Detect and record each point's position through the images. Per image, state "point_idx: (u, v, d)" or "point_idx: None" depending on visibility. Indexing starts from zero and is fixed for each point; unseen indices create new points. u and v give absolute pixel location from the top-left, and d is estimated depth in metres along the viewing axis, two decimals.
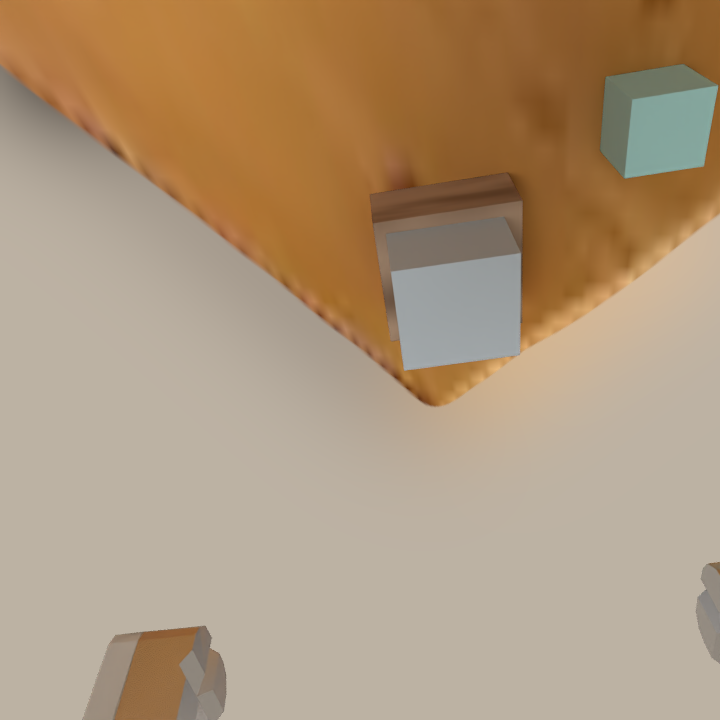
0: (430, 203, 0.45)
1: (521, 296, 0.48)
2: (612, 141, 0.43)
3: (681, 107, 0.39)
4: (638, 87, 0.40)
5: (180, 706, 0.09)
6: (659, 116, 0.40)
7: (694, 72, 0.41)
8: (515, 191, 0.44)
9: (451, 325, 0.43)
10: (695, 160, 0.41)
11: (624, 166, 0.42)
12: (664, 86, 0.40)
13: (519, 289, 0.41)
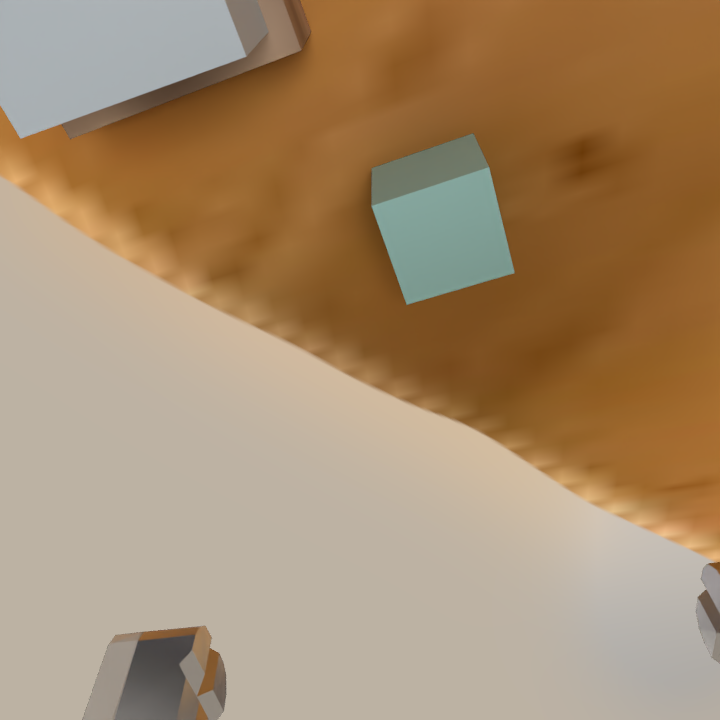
0: None
1: (121, 117, 0.26)
2: (403, 173, 0.29)
3: (482, 240, 0.28)
4: None
5: (180, 706, 0.09)
6: (468, 215, 0.27)
7: None
8: (303, 40, 0.25)
9: None
10: (413, 290, 0.29)
11: (388, 198, 0.27)
12: None
13: (167, 82, 0.20)
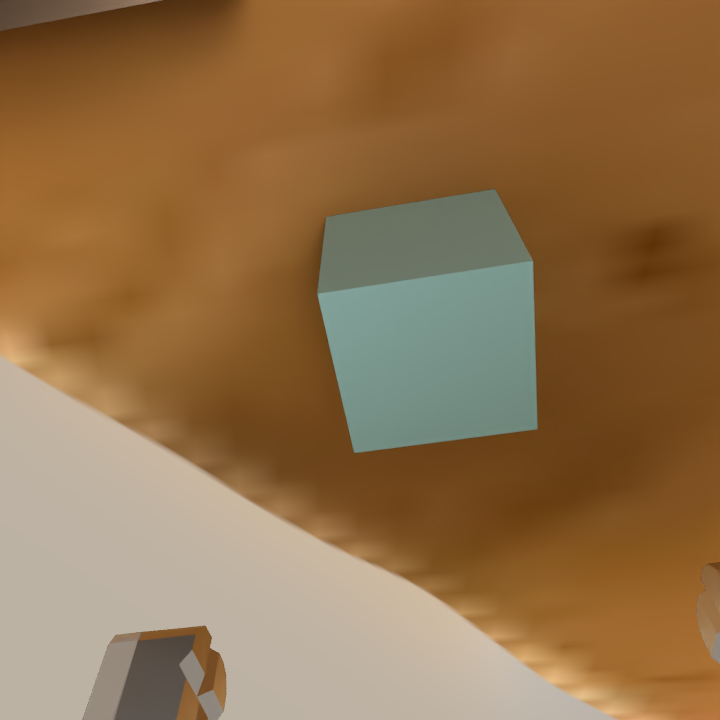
0: None
1: None
2: (378, 239, 0.17)
3: (496, 374, 0.16)
4: None
5: (180, 706, 0.09)
6: (480, 333, 0.16)
7: None
8: None
9: None
10: (368, 433, 0.18)
11: (348, 285, 0.15)
12: None
13: None
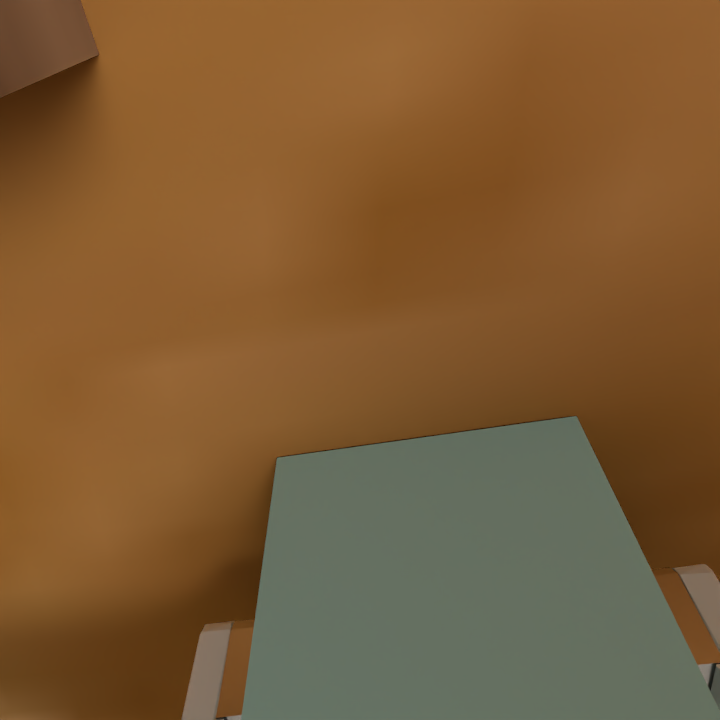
0: None
1: None
2: (368, 558, 0.09)
3: None
4: None
5: None
6: None
7: None
8: None
9: None
10: None
11: None
12: None
13: None
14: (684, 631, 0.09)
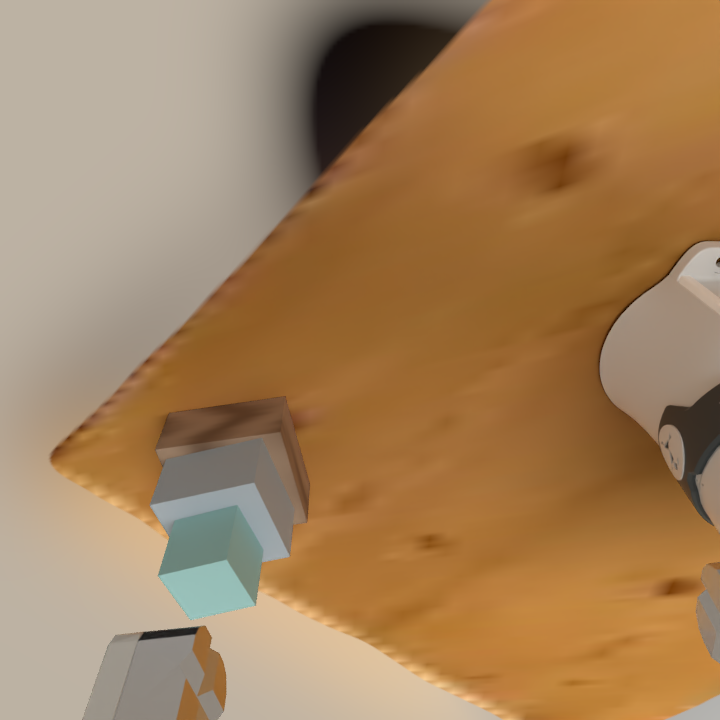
0: (293, 457, 0.54)
1: None
2: (186, 540, 0.46)
3: (231, 590, 0.45)
4: (236, 548, 0.45)
5: (180, 706, 0.09)
6: (219, 580, 0.44)
7: (259, 570, 0.48)
8: (307, 508, 0.56)
9: None
10: (192, 613, 0.46)
11: (168, 571, 0.44)
12: (243, 567, 0.45)
13: None
14: None
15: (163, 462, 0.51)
